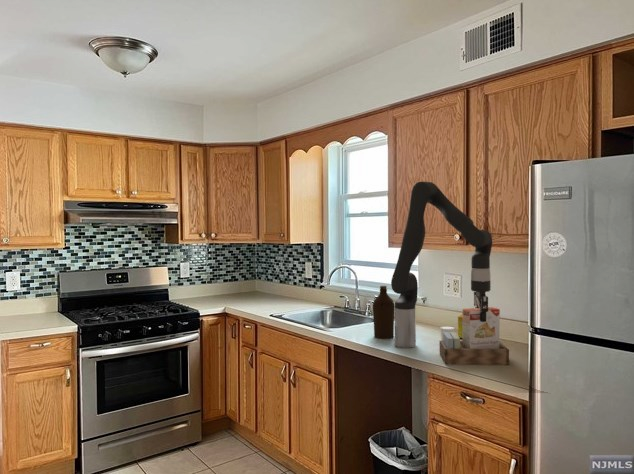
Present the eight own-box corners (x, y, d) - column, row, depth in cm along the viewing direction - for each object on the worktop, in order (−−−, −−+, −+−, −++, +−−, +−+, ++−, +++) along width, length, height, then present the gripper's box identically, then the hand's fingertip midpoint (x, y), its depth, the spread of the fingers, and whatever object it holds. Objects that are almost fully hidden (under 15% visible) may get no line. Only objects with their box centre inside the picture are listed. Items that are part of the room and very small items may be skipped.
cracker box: (470, 363, 196) (469, 310, 195) (461, 359, 202) (461, 308, 201) (500, 359, 200) (500, 308, 199) (491, 356, 206) (490, 306, 205)
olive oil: (398, 338, 239) (397, 286, 238) (377, 339, 236) (377, 287, 236) (389, 333, 249) (389, 284, 248) (370, 335, 247) (369, 285, 246)
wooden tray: (445, 364, 195) (445, 349, 195) (439, 354, 209) (439, 340, 209) (509, 364, 193) (508, 349, 193) (499, 355, 207) (499, 340, 207)
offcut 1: (447, 363, 197) (447, 338, 196) (443, 355, 207) (443, 332, 207) (453, 363, 196) (453, 338, 196) (448, 355, 207) (448, 332, 207)
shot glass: (452, 340, 233) (452, 325, 233) (457, 344, 226) (457, 329, 226) (438, 340, 233) (438, 326, 232) (442, 344, 226) (442, 329, 226)
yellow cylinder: (462, 336, 241) (462, 314, 240) (474, 338, 237) (474, 315, 236) (457, 338, 236) (457, 316, 236) (469, 340, 232) (469, 317, 232)
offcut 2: (454, 363, 196) (454, 338, 196) (449, 355, 207) (449, 332, 207) (460, 363, 196) (460, 338, 196) (455, 355, 207) (454, 332, 207)
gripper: (467, 277, 207) (467, 316, 208) (475, 281, 193) (475, 323, 193) (485, 277, 206) (485, 316, 207) (494, 281, 192) (495, 323, 193)
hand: (480, 319), depth 200 cm, fingers closed on cracker box, 7 cm apart
